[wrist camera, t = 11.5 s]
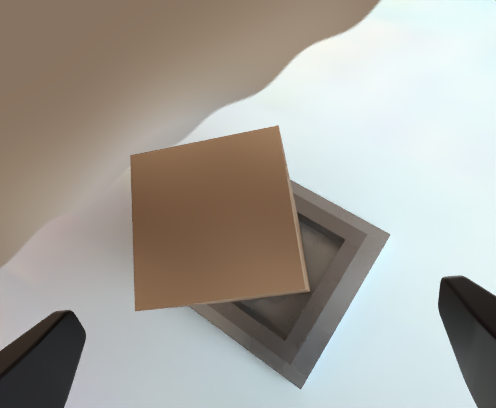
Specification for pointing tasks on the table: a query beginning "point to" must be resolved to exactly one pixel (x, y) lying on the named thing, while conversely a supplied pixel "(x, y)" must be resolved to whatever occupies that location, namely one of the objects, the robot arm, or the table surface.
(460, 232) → the table surface
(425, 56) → the table surface
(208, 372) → the table surface
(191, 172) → the walnut post
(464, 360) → the robot arm
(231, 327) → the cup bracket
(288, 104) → the table surface
